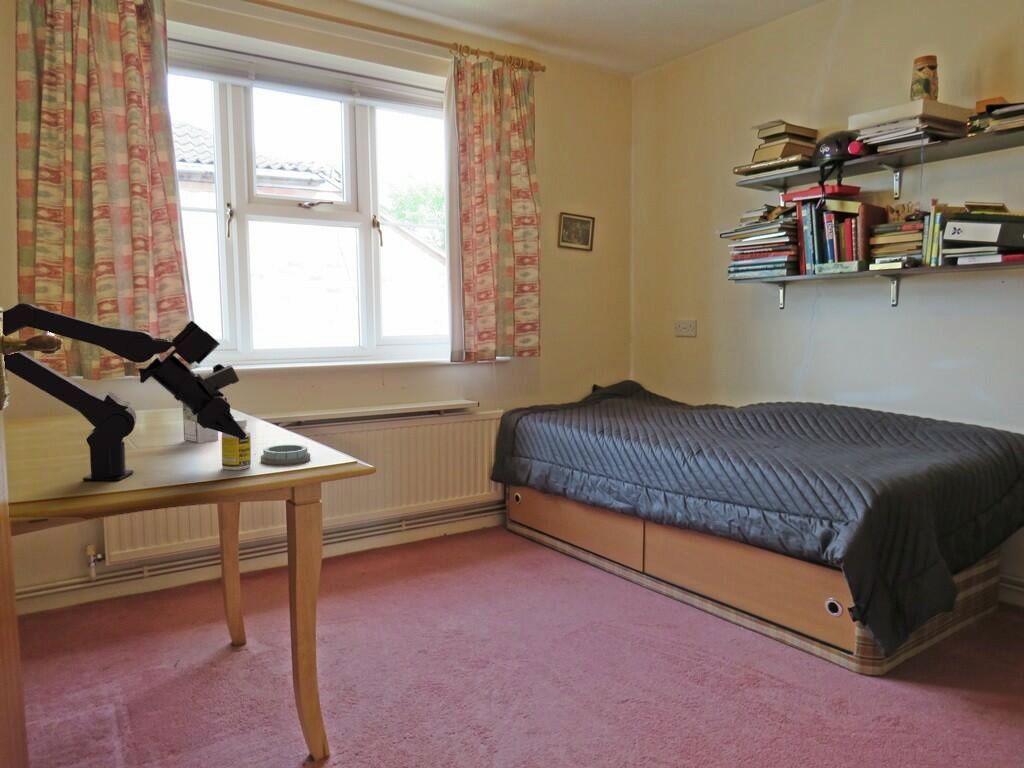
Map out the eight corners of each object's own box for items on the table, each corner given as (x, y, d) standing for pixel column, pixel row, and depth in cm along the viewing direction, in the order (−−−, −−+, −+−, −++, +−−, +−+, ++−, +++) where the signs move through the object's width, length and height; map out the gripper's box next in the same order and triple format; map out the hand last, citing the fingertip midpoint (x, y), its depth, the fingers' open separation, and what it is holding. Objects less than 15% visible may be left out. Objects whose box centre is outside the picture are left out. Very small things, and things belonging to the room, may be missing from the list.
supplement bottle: (241, 471, 140) (240, 422, 139) (216, 469, 141) (215, 420, 140) (256, 465, 146) (255, 418, 145) (232, 464, 147) (231, 416, 146)
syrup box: (219, 440, 172) (217, 380, 170) (197, 444, 167) (195, 382, 165) (204, 437, 175) (203, 378, 173) (182, 441, 170) (180, 380, 168)
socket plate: (304, 465, 146) (304, 453, 146) (254, 465, 146) (254, 453, 145) (314, 455, 156) (314, 444, 156) (267, 455, 156) (267, 444, 155)
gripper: (214, 354, 131) (278, 411, 137) (209, 348, 148) (267, 399, 154) (168, 399, 128) (235, 455, 134) (169, 388, 145) (228, 438, 151)
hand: (243, 434), depth 143 cm, fingers closed on supplement bottle, 5 cm apart
